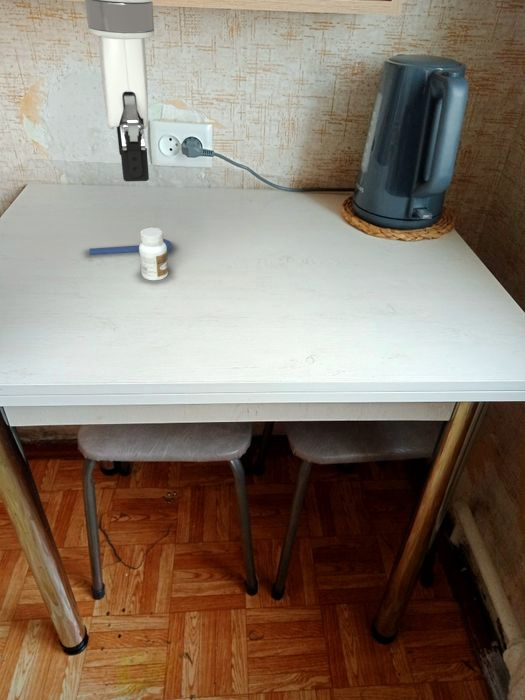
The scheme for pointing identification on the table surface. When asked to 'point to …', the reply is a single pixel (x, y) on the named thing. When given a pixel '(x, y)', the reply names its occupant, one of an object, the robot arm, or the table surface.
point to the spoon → (123, 249)
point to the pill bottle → (153, 254)
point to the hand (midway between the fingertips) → (133, 167)
